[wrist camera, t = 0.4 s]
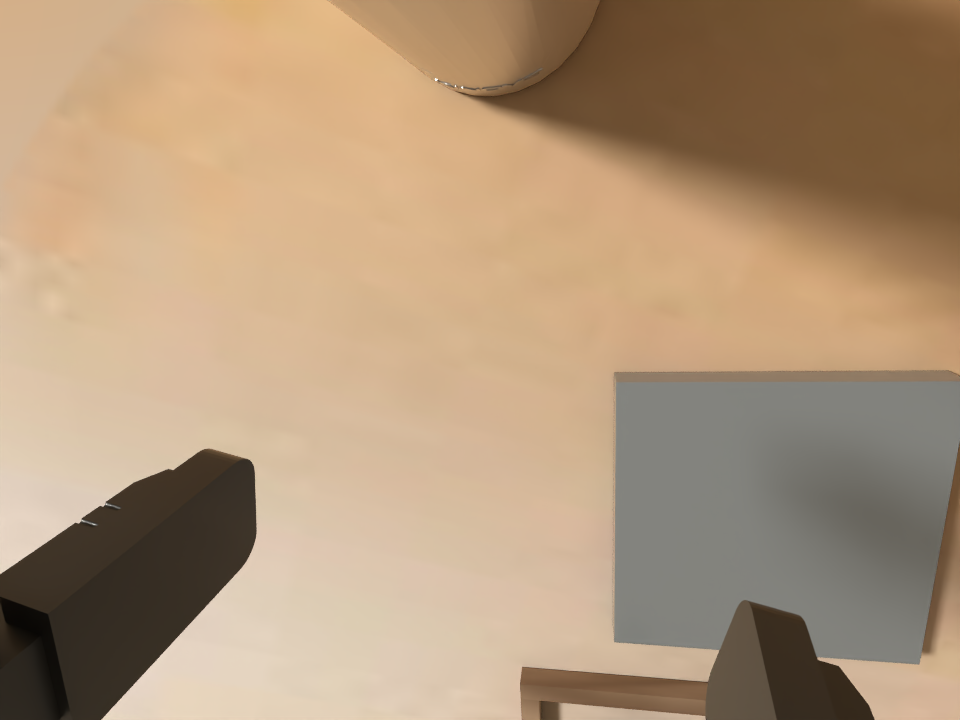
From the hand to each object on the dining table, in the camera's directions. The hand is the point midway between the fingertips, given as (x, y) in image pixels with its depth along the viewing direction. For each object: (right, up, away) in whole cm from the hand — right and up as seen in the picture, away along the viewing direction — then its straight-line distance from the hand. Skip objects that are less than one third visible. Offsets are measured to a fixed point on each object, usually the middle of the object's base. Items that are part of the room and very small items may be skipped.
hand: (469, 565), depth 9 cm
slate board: (+14, -4, +19) cm, 24 cm away
